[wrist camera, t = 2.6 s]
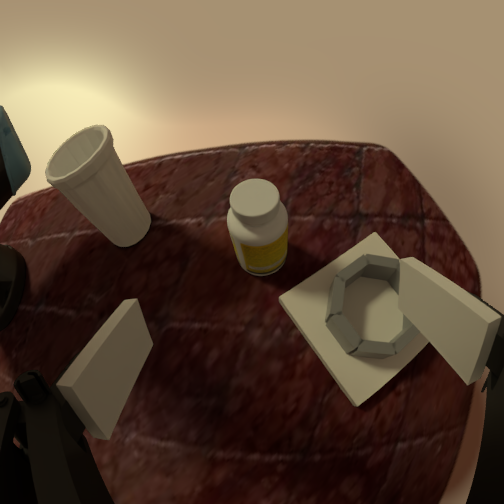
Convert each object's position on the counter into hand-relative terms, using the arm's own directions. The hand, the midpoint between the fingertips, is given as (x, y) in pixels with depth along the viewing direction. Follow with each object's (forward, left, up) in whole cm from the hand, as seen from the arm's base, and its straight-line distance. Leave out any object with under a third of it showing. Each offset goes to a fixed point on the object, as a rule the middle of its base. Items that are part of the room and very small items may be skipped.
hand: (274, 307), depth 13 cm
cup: (-22, -8, -15) cm, 28 cm away
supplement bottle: (-9, +4, -15) cm, 18 cm away
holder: (+3, +9, -14) cm, 17 cm away
